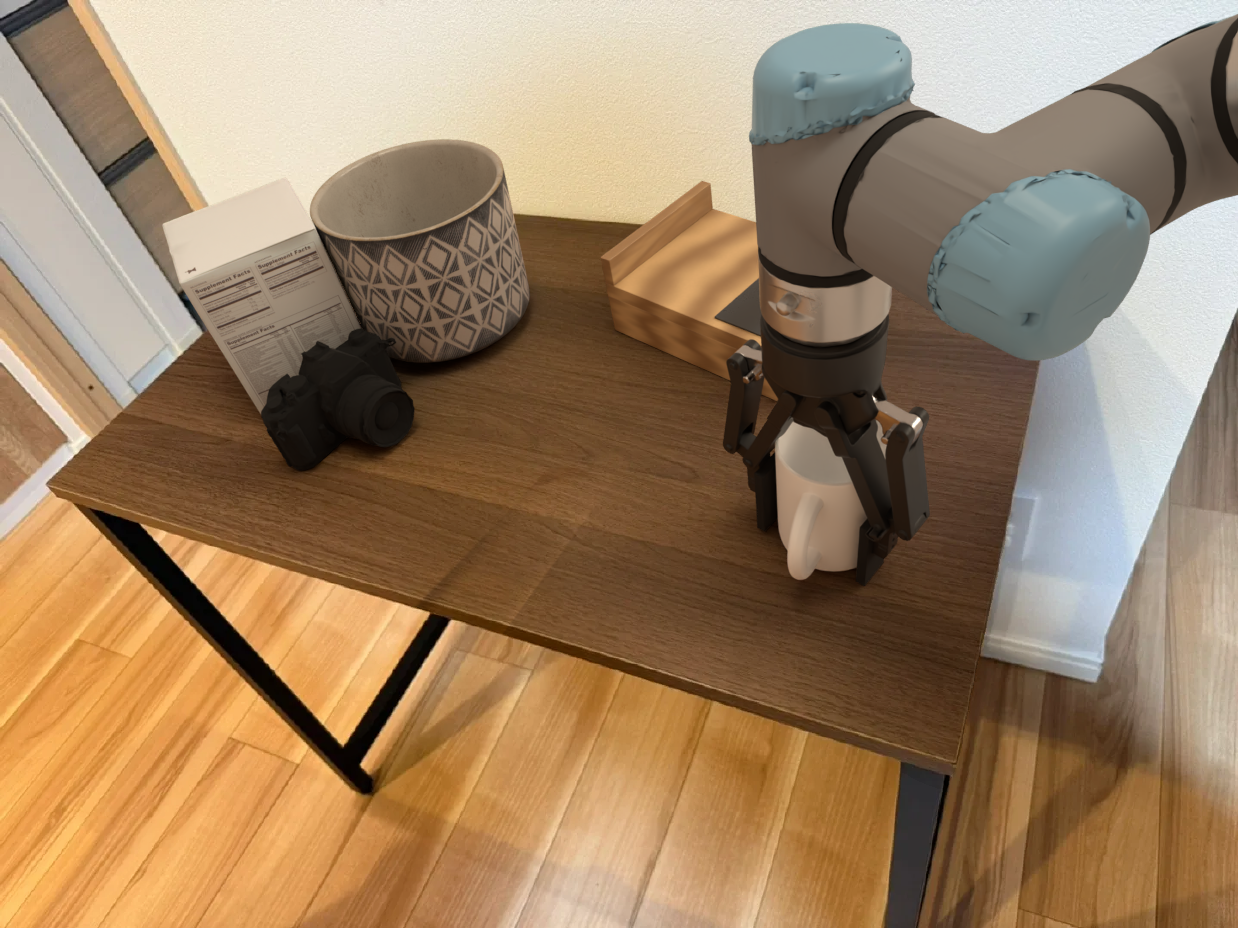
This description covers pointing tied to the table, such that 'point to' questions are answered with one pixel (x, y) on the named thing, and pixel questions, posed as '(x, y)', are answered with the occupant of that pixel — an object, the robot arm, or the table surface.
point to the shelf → (689, 283)
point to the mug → (816, 503)
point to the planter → (426, 247)
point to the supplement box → (260, 283)
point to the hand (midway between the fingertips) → (818, 544)
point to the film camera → (338, 401)
